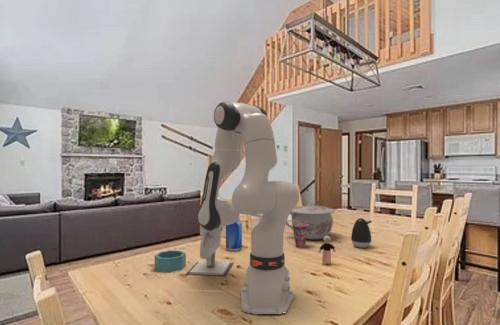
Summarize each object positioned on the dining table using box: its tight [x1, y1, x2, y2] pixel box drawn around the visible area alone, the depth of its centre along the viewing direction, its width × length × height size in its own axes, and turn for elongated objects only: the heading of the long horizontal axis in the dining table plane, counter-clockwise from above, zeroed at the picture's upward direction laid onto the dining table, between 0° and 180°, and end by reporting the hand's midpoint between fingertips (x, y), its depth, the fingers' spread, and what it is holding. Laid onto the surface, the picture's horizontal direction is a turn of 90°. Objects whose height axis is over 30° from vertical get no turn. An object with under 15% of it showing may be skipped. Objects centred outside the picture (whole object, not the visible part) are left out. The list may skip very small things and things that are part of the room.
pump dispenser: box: [350, 218, 373, 249], centre depth 169 cm, size 10×10×15 cm
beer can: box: [225, 218, 243, 252], centre depth 166 cm, size 8×8×16 cm
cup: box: [291, 223, 310, 249], centre depth 170 cm, size 9×8×12 cm
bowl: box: [154, 249, 187, 273], centre depth 137 cm, size 12×12×6 cm
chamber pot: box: [285, 202, 336, 241], centre depth 191 cm, size 28×28×21 cm
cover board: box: [190, 254, 231, 275], centre depth 135 cm, size 14×14×5 cm
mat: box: [184, 261, 235, 278], centre depth 135 cm, size 17×17×1 cm
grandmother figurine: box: [317, 235, 337, 266], centre depth 141 cm, size 8×4×13 cm, turn 105°
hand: (210, 262), depth 135 cm, fingers closed on cover board, 4 cm apart
